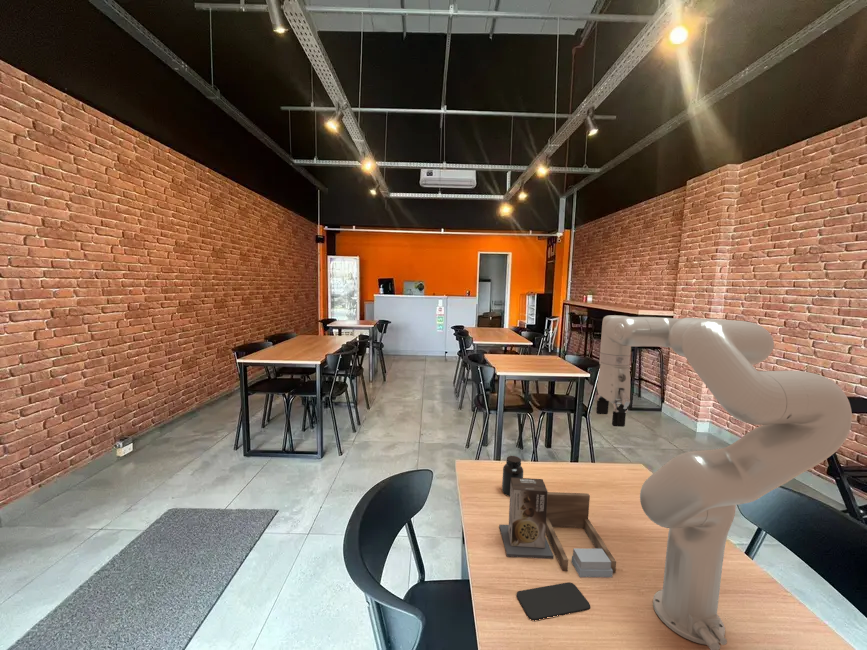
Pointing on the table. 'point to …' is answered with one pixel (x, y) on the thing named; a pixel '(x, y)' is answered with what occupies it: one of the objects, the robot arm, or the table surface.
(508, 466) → the supplement bottle
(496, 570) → the table surface
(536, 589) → the phone
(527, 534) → the coffee box
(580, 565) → the block
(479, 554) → the table surface
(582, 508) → the walnut rack
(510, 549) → the dark grey square plate
